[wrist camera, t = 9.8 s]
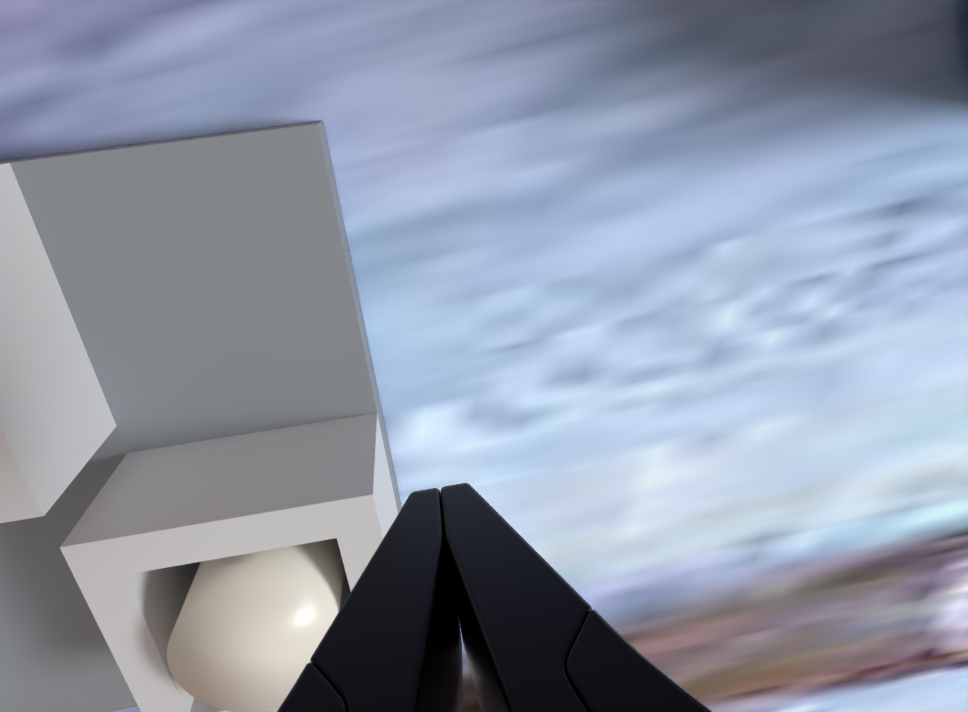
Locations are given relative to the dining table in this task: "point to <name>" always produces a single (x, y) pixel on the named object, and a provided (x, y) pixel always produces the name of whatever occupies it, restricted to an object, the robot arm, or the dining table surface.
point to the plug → (255, 624)
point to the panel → (171, 399)
